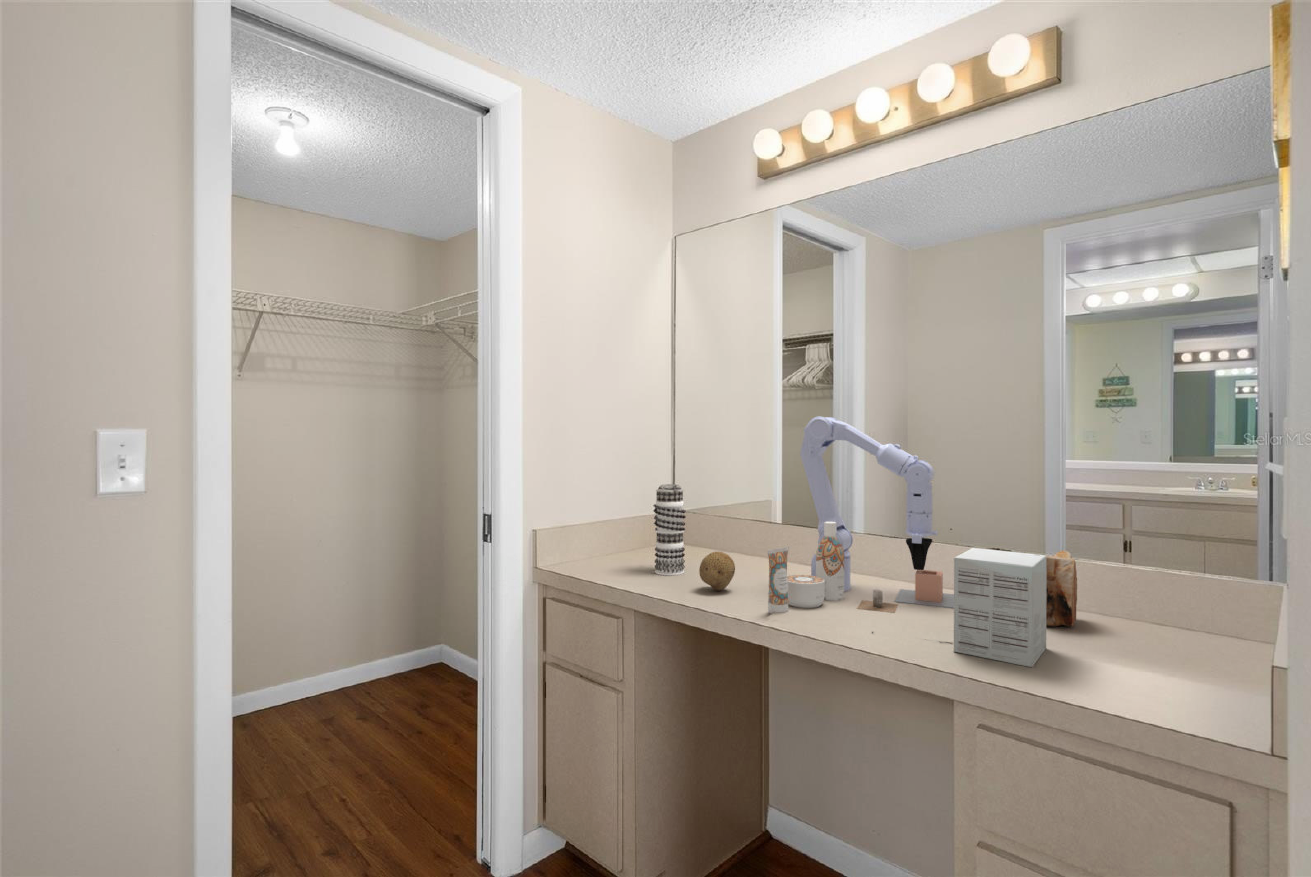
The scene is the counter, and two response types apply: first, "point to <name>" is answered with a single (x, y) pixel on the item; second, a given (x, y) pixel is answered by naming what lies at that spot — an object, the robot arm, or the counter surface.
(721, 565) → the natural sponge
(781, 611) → the cosmetic set
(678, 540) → the decorative candle
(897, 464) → the robot arm
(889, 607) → the walnut stand
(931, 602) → the board
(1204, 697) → the counter surface
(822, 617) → the counter surface
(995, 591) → the supplement box
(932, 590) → the terracotta collar
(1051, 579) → the stone
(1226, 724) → the counter surface
